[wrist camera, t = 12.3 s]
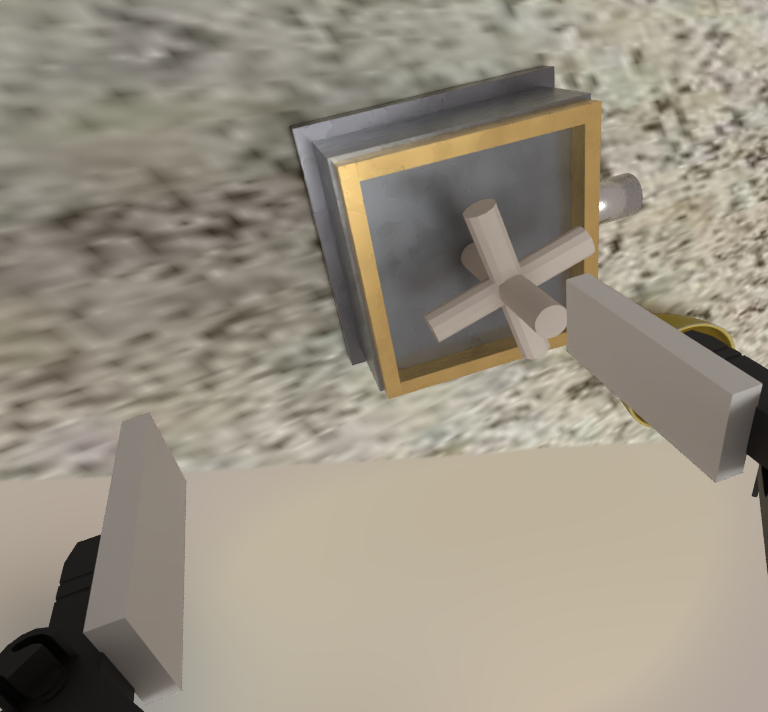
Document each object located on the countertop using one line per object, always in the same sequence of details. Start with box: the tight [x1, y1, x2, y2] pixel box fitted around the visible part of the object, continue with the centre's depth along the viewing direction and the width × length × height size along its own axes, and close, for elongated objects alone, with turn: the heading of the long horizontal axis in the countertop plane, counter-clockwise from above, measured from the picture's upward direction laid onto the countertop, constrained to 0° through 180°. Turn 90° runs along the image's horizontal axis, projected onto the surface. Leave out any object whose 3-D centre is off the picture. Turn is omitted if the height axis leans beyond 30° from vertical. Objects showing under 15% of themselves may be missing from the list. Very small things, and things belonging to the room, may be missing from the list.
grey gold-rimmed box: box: [290, 66, 643, 399], centre depth 39 cm, size 18×22×9 cm
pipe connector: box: [424, 199, 595, 359], centre depth 32 cm, size 10×10×10 cm
